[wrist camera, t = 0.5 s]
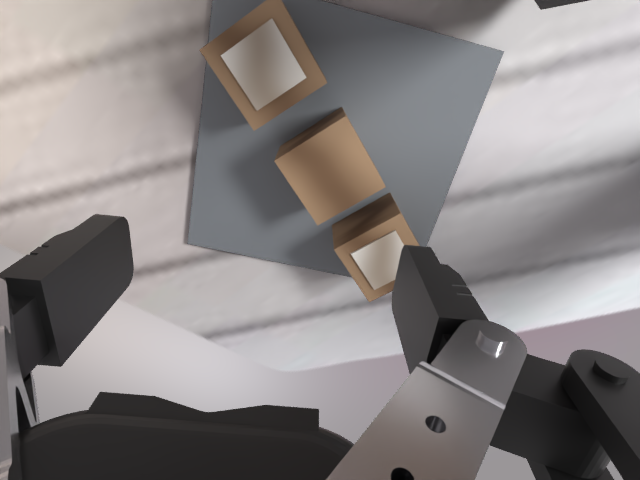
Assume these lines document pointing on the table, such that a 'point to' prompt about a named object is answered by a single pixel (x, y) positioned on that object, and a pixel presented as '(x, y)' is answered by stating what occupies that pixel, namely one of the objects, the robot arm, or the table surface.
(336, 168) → the plain block
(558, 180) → the table surface
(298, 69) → the marked block 1
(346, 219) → the marked block 2
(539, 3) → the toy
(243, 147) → the mat
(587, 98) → the table surface
